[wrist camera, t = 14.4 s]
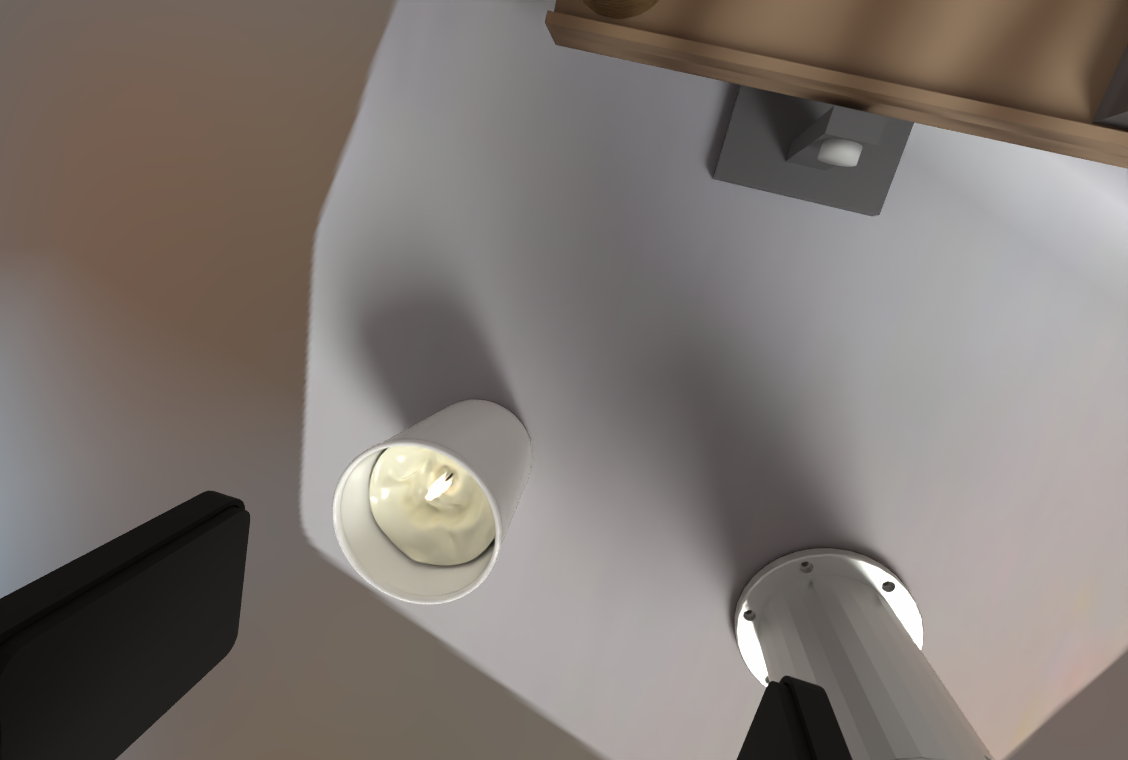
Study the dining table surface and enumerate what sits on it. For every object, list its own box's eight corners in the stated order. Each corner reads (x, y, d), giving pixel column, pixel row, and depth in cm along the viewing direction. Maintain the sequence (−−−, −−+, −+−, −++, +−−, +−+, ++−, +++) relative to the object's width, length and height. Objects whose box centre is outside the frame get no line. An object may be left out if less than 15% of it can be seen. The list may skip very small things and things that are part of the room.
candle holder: (455, 363, 41) (375, 406, 29) (568, 434, 40) (533, 506, 29) (398, 466, 43) (304, 544, 32) (503, 534, 43) (448, 636, 32)
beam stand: (974, -61, 30) (1106, -190, 22) (871, 216, 34) (947, 202, 25) (792, -94, 31) (847, -231, 22) (712, 178, 35) (732, 152, 26)
